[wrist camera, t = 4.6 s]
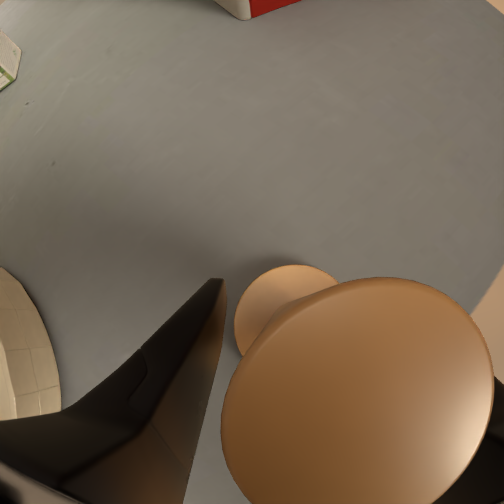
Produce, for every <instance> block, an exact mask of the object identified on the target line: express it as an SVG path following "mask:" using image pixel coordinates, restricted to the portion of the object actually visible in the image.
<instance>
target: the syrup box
mask: <svg viewBox="0 0 504 504" xmlns="http://www.w3.org/2000/svg"><path fill="white" fill-rule="evenodd" d="M21 53H22V52H21V50H20V49H19V48H18V47H17V46H16V45H15V44H14V43H13V42H12V41H11V40H10V39H9V38H8V37H7V36H6V35H5V34H4V33H3V32H2V31H1V29H0V91H1V90H2V89H3V88H5V87H6V86H7V85H8V84H10V83H11V82H12V81H14V80H15V78H16V75H17V71H18V67H19V62H20V58H21Z"/></svg>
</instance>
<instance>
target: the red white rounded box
mask: <svg viewBox="0 0 504 504" xmlns="http://www.w3.org/2000/svg"><path fill="white" fill-rule="evenodd" d="M214 1H215V2H216V3H218V4H219V5H220V6H222V7H223V8H224V9H226V10H227V11H228V12H230V13H231V14H232V15H233V16H235V17H236V18H237V19H240V20H248V19H251V17H253V18H254V17H257V16H259V15H262V14H264V13H267V12H270V11H272V10H275V9H278V8H280V7H283V6H286V5H289V4H292V3H295V2H298V1H301V0H214Z"/></svg>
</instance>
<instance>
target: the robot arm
mask: <svg viewBox="0 0 504 504" xmlns="http://www.w3.org/2000/svg"><path fill="white" fill-rule="evenodd" d="M226 308H227V295H226V286H225V280H224V279H223V278H210V279H209V280H208V281H207V282H206V283H205V284H204V285H203V286H202V287H201V288H200V289H199V290H198V291H197V292H196V293H195V294H194V295H193V296H192V297H191V298H190V299H189V300H188V301H187V302H186V303H185V304H183V305H182V306H181V307H180V308H179V309H178V310H177V311H176V312H175V313H174V314H173V315H172V316H171V317H170V318H169V319H168V320H167V321H166V322H165V323H164V324H163V325H162V326H161V327H160V328H159V329H158V330H157V331H156V332H155V333H154V334H153V335H152V336H151V337H150V338H149V339H148V340H147V341H146V342H145V343H144V344H143V345H142V346H141V349H138V350H137V351H136V352H135V353H134V354H133V355H132V356H131V357H130V358H129V359H128V360H127V361H126V362H124V363H123V364H122V365H121V366H120V367H119V368H118V369H117V370H116V371H114V372H113V373H112V374H111V375H110V376H108V377H107V378H106V379H105V380H104V381H102V382H101V383H100V384H99V385H97V386H96V387H95V388H94V389H92V390H91V391H90V392H89V393H87V394H86V395H85V396H84V397H82V398H81V399H80V400H78V401H77V402H76V403H74V404H73V405H71V406H70V407H68V408H66V409H64V410H61V411H58V412H54V413H49V414H43V415H37V416H31V417H24V418H17V419H9V420H0V504H183V500H184V496H185V492H186V488H187V484H188V480H189V476H190V474H189V473H190V472H191V468H192V464H193V460H194V456H195V452H196V448H197V444H198V440H199V436H200V432H201V428H202V424H203V420H204V416H205V412H206V408H207V404H208V400H209V396H210V392H211V389H212V385H213V381H214V377H215V373H216V369H217V365H218V361H219V357H220V353H221V348H222V341H223V333H224V325H225V316H226ZM432 504H504V385H503V384H502V383H501V382H500V381H499V380H498V379H497V378H496V377H495V376H494V399H493V407H492V412H491V416H490V421H489V424H488V427H487V430H486V433H485V435H484V438H483V440H482V442H481V444H480V446H479V448H478V450H477V452H476V454H475V456H474V457H473V459H472V461H471V462H470V464H469V465H468V467H467V468H466V469H465V471H464V472H463V473H462V475H461V476H460V477H459V478H458V479H457V480H456V482H455V483H454V484H453V485H452V486H451V487H450V488H449V489H448V490H447V491H446V492H445V493H444V494H443V495H441V496H440V497H439V498H438V499H437V500H436V501H434V502H433V503H432Z"/></svg>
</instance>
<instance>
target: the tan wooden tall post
mask: <svg viewBox="0 0 504 504" xmlns="http://www.w3.org/2000/svg"><path fill="white" fill-rule="evenodd" d="M234 335H235V340H236V343H237V346H238V349H239V351H240V353H241V355H242V359H241V360H240V362H239V364H238V366H237V368H236V370H235V372H234V374H233V376H232V378H231V380H230V383H229V386H228V389H227V392H226V395H225V398H224V403H223V408H222V414H221V441H222V450H223V453H224V457H225V460H226V464H227V466H228V469H229V471H230V473H231V475H232V477H233V479H234V481H235V482H236V484H237V485H238V487H239V488H240V490H241V491H242V493H243V494H244V495H245V497H246V498H247V499H248V500H249V501H250V502H251V503H252V504H432V503H433V502H434V501H436V500H437V499H438V498H439V497H440V496H441V495H443V494H444V493H445V492H446V491H447V490H448V489H449V488H450V487H451V486H452V485H453V484H454V483H455V482H456V480H457V479H458V478H459V477H460V476H461V475H462V473H463V472H464V471H465V469H466V468H467V467H468V465H469V464H470V462H471V461H472V459H473V457H474V456H475V454H476V452H477V450H478V448H479V446H480V444H481V442H482V440H483V438H484V435H485V433H486V430H487V427H488V424H489V421H490V416H491V412H492V407H493V399H494V372H493V366H492V361H491V356H490V353H489V350H488V347H487V344H486V342H485V339H484V337H483V335H482V334H481V332H480V330H479V328H478V327H477V325H476V324H475V322H474V321H473V319H472V318H471V317H470V316H469V314H468V313H467V312H466V311H465V310H464V309H463V308H462V307H461V306H460V305H459V304H458V303H457V302H455V301H454V300H453V299H451V298H450V297H448V296H447V295H446V294H444V293H442V292H440V291H438V290H437V289H435V288H433V287H431V286H428V285H425V284H422V283H419V282H416V281H413V280H407V279H402V278H394V277H373V278H364V279H356V280H352V281H348V282H344V283H340V284H339V283H338V281H336V280H335V279H334V278H333V277H332V276H330V275H329V274H327V273H326V272H324V271H322V270H319V269H317V268H314V267H311V266H306V265H295V264H294V265H285V266H280V267H277V268H274V269H271V270H269V271H267V272H265V273H263V274H262V275H261V276H259V277H258V278H256V279H255V280H254V281H253V282H252V283H251V284H250V285H249V286H248V287H247V289H246V290H245V292H244V293H243V295H242V296H241V298H240V300H239V302H238V305H237V308H236V311H235V317H234Z"/></svg>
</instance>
